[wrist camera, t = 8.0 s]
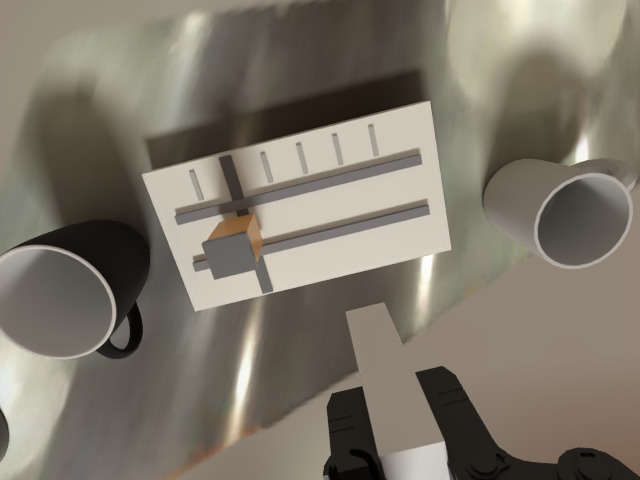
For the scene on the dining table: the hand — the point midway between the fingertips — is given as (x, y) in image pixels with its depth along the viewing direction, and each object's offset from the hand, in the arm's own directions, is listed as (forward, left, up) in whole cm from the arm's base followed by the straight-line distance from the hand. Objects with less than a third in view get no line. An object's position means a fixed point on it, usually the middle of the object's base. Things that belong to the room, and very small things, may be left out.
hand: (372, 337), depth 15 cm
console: (-2, 0, -22) cm, 22 cm away
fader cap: (-8, 0, -19) cm, 21 cm away
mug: (-20, -1, -23) cm, 31 cm away
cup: (+19, -3, -23) cm, 29 cm away
